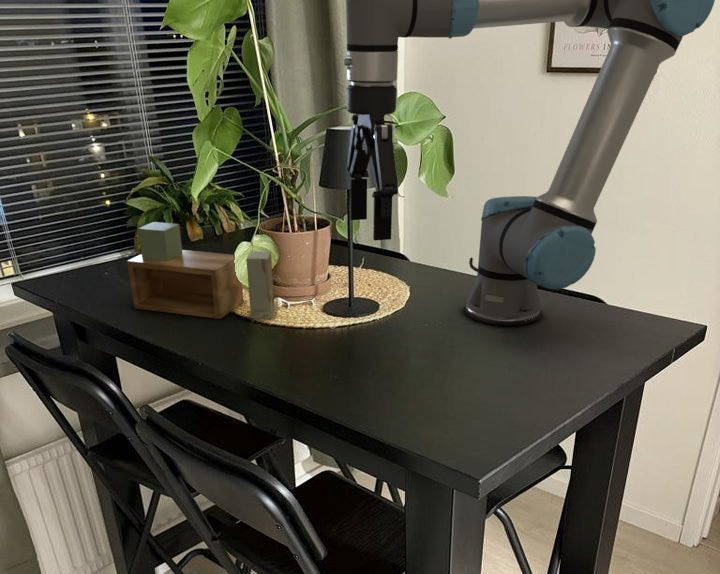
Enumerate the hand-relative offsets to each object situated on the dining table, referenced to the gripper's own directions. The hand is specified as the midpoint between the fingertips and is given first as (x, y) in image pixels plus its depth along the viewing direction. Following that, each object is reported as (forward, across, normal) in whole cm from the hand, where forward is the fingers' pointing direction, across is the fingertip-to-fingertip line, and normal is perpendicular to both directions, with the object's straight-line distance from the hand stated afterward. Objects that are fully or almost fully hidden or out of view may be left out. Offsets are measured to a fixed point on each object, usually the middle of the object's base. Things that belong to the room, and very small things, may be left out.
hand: (369, 229), depth 124 cm
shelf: (+23, -38, -28) cm, 53 cm away
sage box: (+13, -40, -33) cm, 54 cm away
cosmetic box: (+23, -28, -14) cm, 39 cm away
